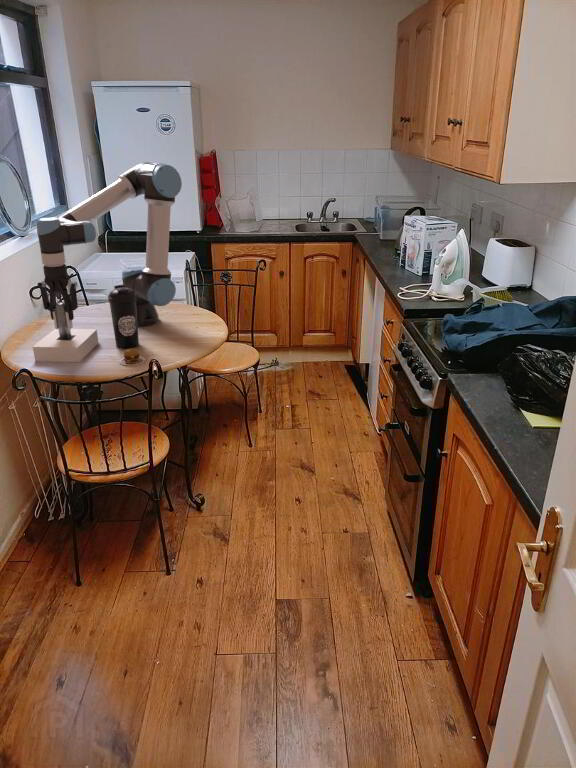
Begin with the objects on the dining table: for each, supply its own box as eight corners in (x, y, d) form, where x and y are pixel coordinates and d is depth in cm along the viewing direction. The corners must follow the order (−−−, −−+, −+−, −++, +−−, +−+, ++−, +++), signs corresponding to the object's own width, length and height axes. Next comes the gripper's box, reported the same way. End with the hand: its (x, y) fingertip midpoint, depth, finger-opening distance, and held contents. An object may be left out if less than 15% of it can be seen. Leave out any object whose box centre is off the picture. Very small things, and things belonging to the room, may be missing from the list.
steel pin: (73, 338, 208) (68, 302, 202) (69, 342, 204) (63, 305, 199) (62, 338, 208) (57, 301, 202) (58, 341, 205) (52, 305, 199)
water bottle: (117, 351, 209) (109, 291, 199) (111, 343, 217) (104, 285, 208) (144, 347, 213) (138, 288, 204) (137, 339, 221) (131, 282, 212)
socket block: (98, 342, 217) (96, 329, 215) (79, 362, 199) (77, 347, 197) (57, 341, 218) (55, 328, 215) (35, 361, 199) (32, 346, 197)
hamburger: (150, 356, 207) (148, 342, 205) (149, 368, 196) (147, 354, 194) (116, 358, 205) (114, 344, 203) (114, 370, 194) (112, 356, 192)
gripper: (82, 262, 198) (90, 325, 208) (35, 261, 198) (45, 324, 208) (74, 267, 191) (83, 332, 201) (25, 266, 192) (36, 330, 201)
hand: (64, 327), depth 204 cm, fingers closed on steel pin, 4 cm apart
